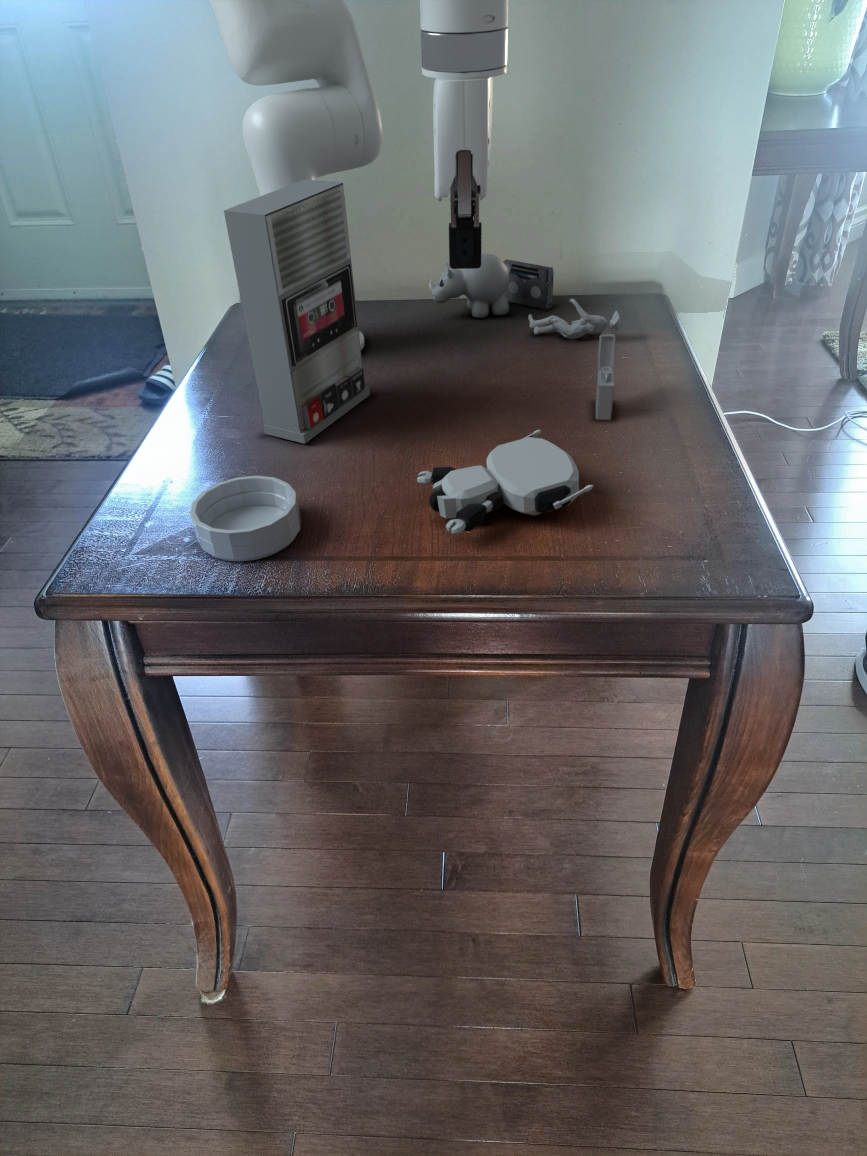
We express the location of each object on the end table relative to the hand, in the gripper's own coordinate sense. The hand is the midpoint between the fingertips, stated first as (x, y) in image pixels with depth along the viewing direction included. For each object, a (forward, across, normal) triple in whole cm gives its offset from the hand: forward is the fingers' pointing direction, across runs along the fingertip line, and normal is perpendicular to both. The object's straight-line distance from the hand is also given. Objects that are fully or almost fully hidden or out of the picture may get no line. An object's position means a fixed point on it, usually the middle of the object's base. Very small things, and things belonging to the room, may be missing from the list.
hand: (465, 265), depth 84 cm
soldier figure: (+20, -27, +15) cm, 36 cm away
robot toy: (+19, +16, +4) cm, 25 cm away
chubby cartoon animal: (+20, -38, 0) cm, 43 cm away
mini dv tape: (+20, -41, +9) cm, 46 cm away
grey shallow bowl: (+19, +20, -21) cm, 35 cm away
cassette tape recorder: (+20, -5, -18) cm, 27 cm away
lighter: (+19, -6, +16) cm, 26 cm away
